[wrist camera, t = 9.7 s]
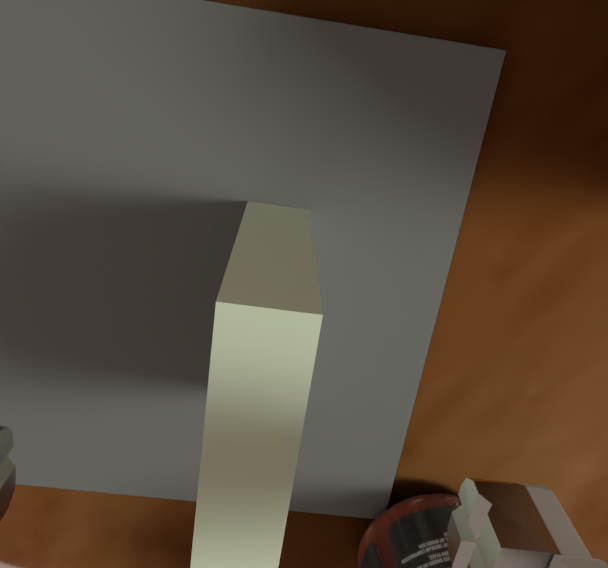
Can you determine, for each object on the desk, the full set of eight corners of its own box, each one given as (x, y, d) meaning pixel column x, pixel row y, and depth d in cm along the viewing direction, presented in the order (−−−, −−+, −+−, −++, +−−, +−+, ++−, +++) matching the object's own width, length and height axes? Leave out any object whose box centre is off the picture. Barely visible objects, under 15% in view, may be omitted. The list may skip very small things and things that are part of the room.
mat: (-52, -41, 15) (-63, -44, 15) (500, 50, 17) (506, 50, 16) (-12, 471, 22) (-18, 480, 21) (381, 510, 23) (383, 519, 23)
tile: (247, 201, 18) (216, 301, 10) (309, 209, 18) (323, 315, 10) (226, 387, 20) (189, 576, 13) (280, 393, 20) (275, 584, 13)
